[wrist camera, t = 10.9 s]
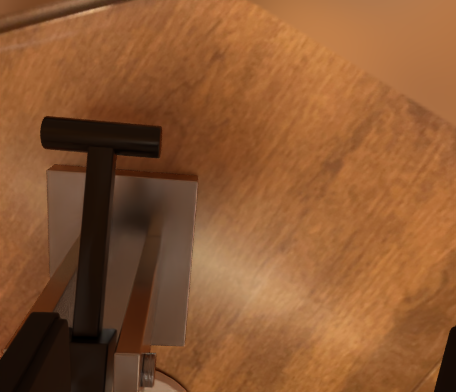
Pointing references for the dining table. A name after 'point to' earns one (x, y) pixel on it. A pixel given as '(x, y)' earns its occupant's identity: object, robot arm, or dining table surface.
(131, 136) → the lever
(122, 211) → the bracket
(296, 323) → the dining table surface
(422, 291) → the dining table surface
